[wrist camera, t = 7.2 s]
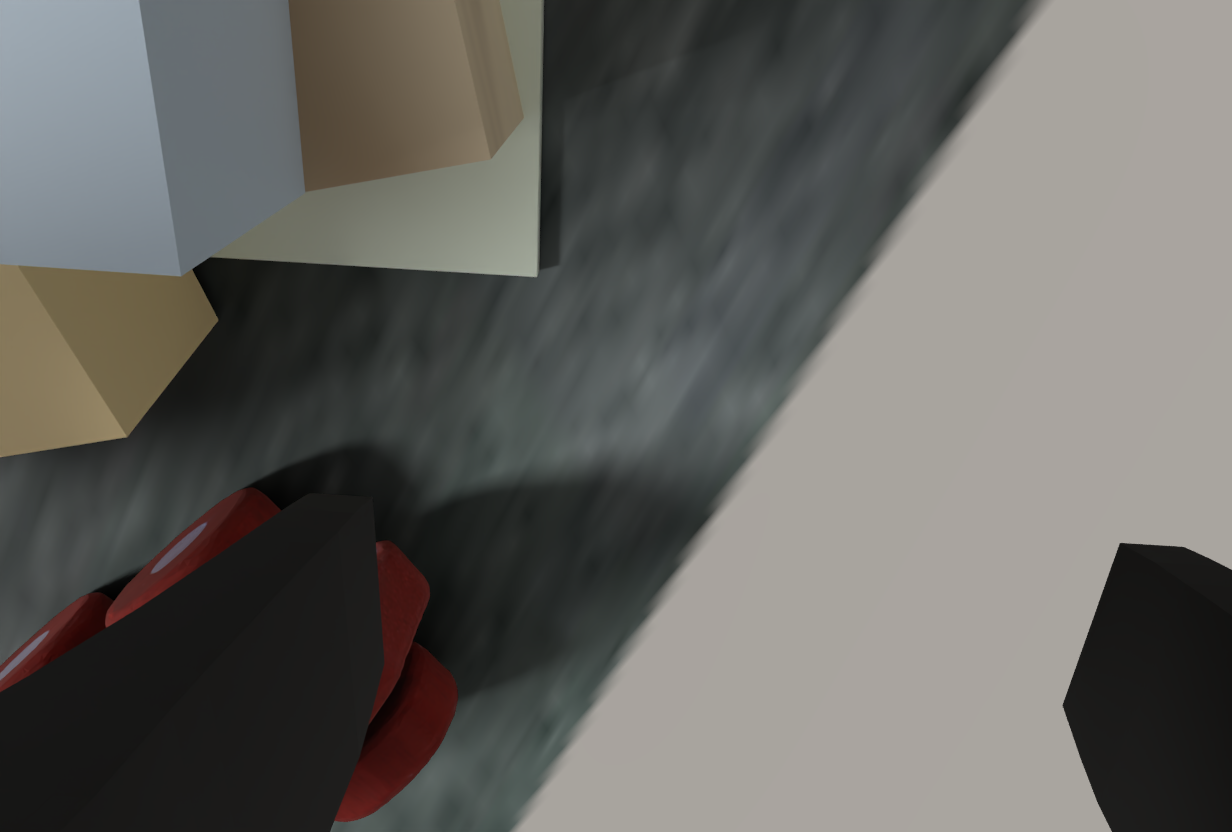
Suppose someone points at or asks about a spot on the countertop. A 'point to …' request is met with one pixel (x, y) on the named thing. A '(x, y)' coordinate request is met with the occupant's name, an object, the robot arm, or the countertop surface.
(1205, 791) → the robot arm
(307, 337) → the countertop surface
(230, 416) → the countertop surface
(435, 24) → the maple block
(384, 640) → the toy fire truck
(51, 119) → the blue block
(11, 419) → the ochre block
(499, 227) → the plate
